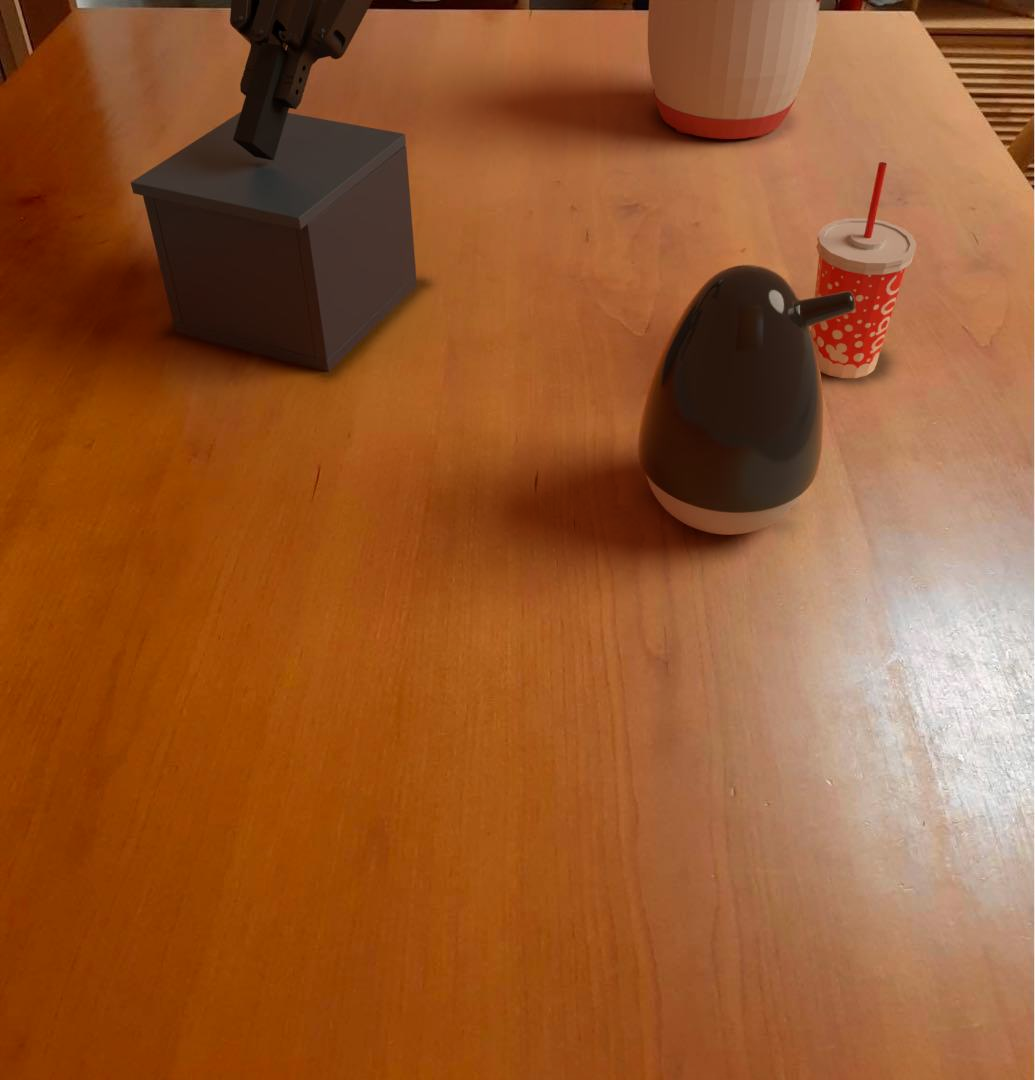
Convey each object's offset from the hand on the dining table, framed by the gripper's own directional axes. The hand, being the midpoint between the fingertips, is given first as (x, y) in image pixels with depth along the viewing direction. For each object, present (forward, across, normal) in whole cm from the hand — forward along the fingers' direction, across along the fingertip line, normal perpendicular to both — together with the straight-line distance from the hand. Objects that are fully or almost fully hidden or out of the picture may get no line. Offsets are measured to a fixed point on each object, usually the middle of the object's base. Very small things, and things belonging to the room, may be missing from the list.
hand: (253, 149), depth 75 cm
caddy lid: (0, 0, -3) cm, 3 cm away
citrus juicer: (-25, -19, -44) cm, 54 cm away
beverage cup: (+1, -38, -17) cm, 42 cm away
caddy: (+8, 0, -11) cm, 13 cm away
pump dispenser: (+14, -35, -5) cm, 38 cm away
